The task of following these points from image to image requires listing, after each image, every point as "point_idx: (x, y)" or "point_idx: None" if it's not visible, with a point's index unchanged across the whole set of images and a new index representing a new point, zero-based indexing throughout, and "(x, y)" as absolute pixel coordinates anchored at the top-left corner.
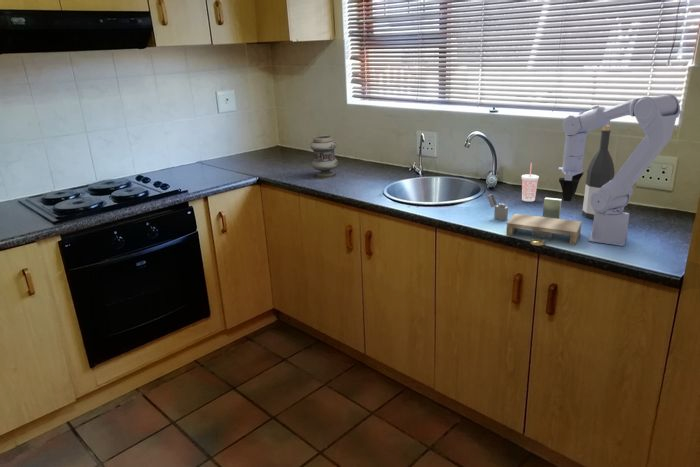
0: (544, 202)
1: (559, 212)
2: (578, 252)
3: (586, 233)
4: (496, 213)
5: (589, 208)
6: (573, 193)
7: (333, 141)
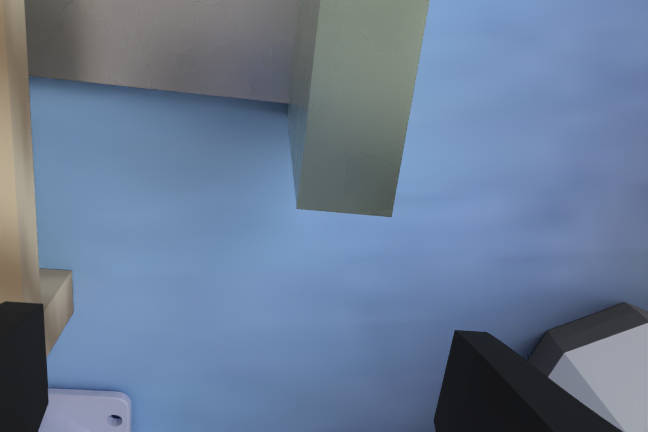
0: None
1: (291, 150)
2: None
3: (110, 354)
4: None
5: None
6: (444, 423)
7: None
